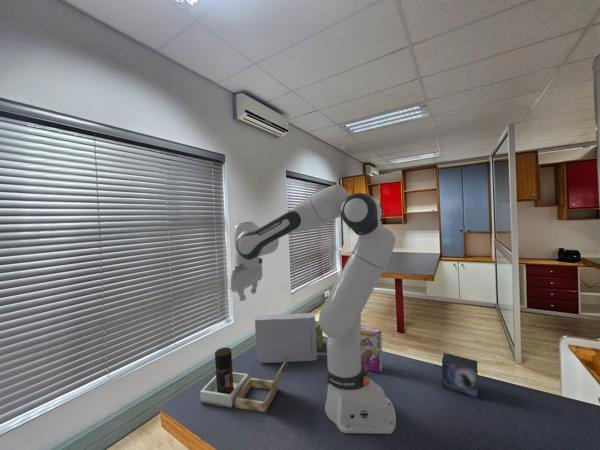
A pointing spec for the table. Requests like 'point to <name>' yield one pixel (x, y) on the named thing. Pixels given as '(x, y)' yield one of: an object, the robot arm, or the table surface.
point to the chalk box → (318, 336)
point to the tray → (220, 399)
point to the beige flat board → (277, 378)
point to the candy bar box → (371, 349)
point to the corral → (254, 404)
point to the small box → (460, 375)
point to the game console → (286, 337)
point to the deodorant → (224, 370)
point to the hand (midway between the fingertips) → (248, 296)
